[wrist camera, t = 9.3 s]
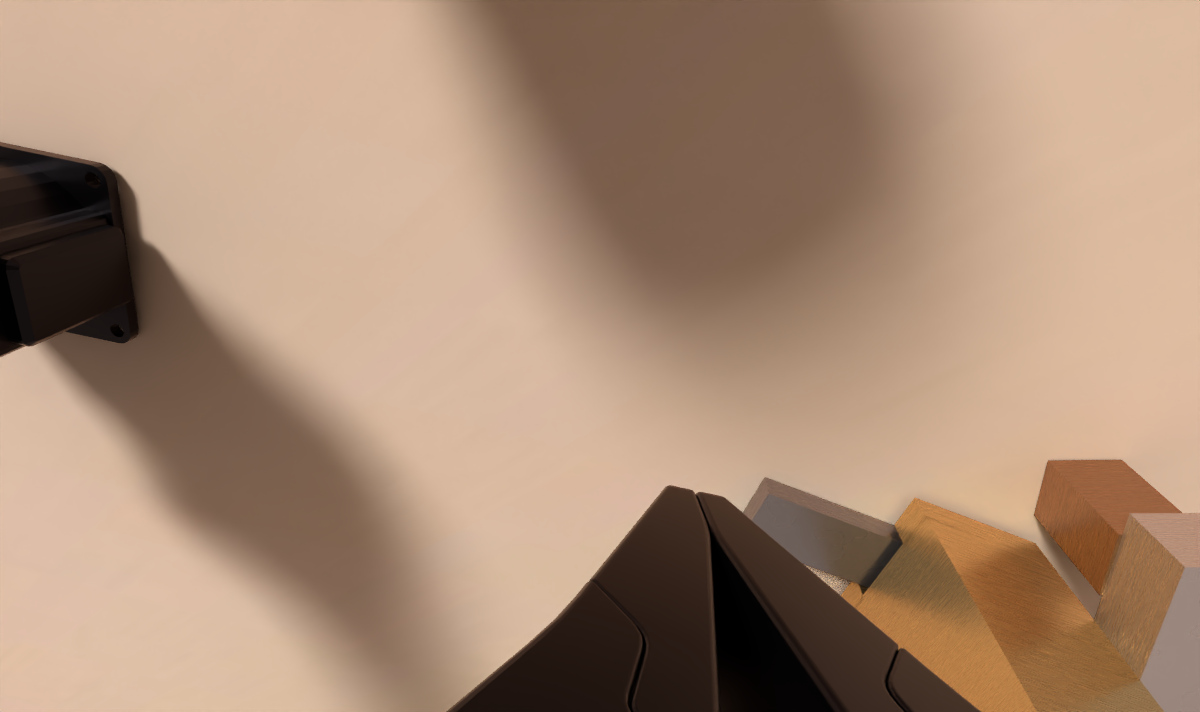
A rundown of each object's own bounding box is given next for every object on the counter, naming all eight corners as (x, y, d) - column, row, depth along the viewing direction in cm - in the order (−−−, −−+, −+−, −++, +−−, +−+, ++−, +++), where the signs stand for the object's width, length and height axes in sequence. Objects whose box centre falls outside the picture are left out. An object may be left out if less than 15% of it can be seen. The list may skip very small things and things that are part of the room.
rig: (736, 523, 25) (756, 654, 19) (852, 333, 21) (918, 428, 16) (1036, 633, 26) (1137, 788, 20) (1198, 469, 22) (1375, 605, 17)
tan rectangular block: (837, 599, 26) (930, 890, 17) (915, 497, 23) (1072, 773, 14) (948, 639, 26) (1097, 946, 17) (1035, 542, 24) (1263, 840, 15)
